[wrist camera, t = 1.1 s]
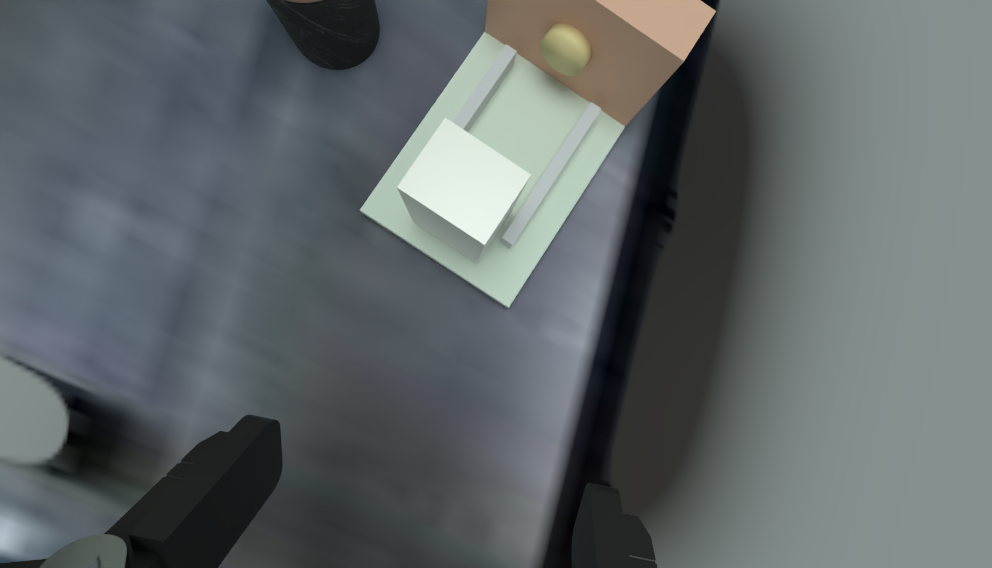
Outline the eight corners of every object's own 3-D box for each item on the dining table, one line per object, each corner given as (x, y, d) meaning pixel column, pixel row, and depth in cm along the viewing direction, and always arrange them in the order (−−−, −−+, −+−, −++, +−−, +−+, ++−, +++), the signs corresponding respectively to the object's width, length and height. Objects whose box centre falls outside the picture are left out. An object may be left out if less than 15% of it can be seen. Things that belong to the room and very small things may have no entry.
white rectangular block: (477, 264, 36) (484, 245, 26) (413, 222, 36) (396, 187, 26) (511, 212, 37) (531, 174, 27) (448, 170, 37) (445, 117, 27)
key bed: (506, 307, 38) (528, 305, 27) (363, 214, 38) (323, 170, 26) (642, 97, 40) (716, 11, 29) (509, 6, 40) (530, -118, 28)
